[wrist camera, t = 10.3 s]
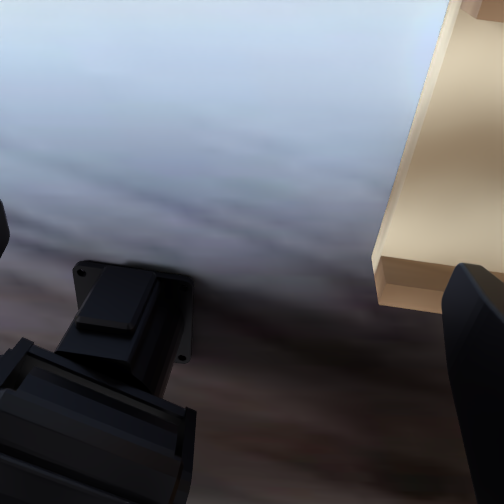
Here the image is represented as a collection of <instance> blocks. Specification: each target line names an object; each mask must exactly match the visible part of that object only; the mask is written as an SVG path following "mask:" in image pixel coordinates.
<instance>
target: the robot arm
mask: <svg viewBox="0 0 504 504" xmlns="http://www.w3.org/2000/svg"><path fill="white" fill-rule="evenodd" d="M9 237H10V232H9V227H8V223H7V219H6V214H5V210H4V206H3V203H2V201H1V199H0V258H1V256H2V254H3V252H4V250H5V248H6V246H7V244H8V242H9ZM81 269H82V270H84V271H85V272H83V271H82V270H81ZM73 278H74V284H75V291H76V297H77V303H78V310H79V311H78V312H77V314H76V316H75V318H74V320H73V321H72V323H71V325H70V326H69V328H68V330H67V331H66V333H65V335H64V336H63V338H62V340H61V341H60V343H59V345H58V347H57V348H56V350H55V352H54V353H53V352H51V351H48V350H46V349H44V348H41V347H39V346H37V345H34V342H33V341H30V340H28V339H25V338H23V337H22V338H21V340H20V341H19V342H18V343H17V344H16V346H15V347H14V348H13V349H8V350H7V351H6V353H5V354H4V355H0V504H186V501H187V497H188V494H189V489H190V485H191V479H192V469H193V455H194V441H195V427H196V414H197V411H195V410H193V409H190V408H188V407H186V408H183V407H181V406H178V405H176V404H173V403H171V402H169V401H166V400H164V399H162V398H163V395H164V392H165V389H166V386H167V383H168V379H169V376H170V373H171V370H172V367H173V363H174V362H175V363H182V364H185V363H188V362H189V361H190V359H191V355H192V333H193V304H194V282H193V280H192V279H191V278H189V277H187V276H182V275H175V274H168V273H161V272H154V271H147V270H141V269H134V268H127V267H120V266H113V265H106V264H99V263H93V262H86V261H80V262H77V264H76V265H75V266H74V268H73ZM181 284H184V285H186V286H187V287H184V286H182V285H181ZM441 309H442V319H443V329H444V339H445V350H446V360H447V368H448V375H449V380H450V385H451V390H452V394H453V398H454V403H455V407H456V412H457V416H458V420H459V425H460V429H461V434H462V438H463V442H464V447H465V451H466V456H467V460H468V465H469V469H470V473H471V478H472V482H473V487H474V491H475V495H476V500H477V504H504V282H502V281H501V280H500V279H498V278H497V277H496V276H495V275H493V274H492V273H491V272H489V271H488V270H487V269H485V268H484V267H483V266H481V265H478V264H470V263H463V262H462V263H459V264H457V265H456V267H455V268H454V270H453V273H452V275H451V277H450V279H449V282H448V284H447V286H446V289H445V291H444V293H443V296H442V301H441ZM183 355H184V356H183Z"/></svg>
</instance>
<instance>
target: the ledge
mask: <svg viewBox="0 0 504 504" xmlns="http://www.w3.org/2000/svg"><path fill="white" fill-rule="evenodd" d="M371 258H372V265H373V271H374V277H375V284H376V290H377V296H378V303H379V305H385V306H392V307H399V308H406V309H413V310H420V311H427V312H433V313H440V314H442V309H441V301H442V296H443V293H444V291H445V289H446V286H447V284H448V282H449V279H450V277H451V275H452V273H453V270H454V268H455V267H456V265H457V264H459V263H462V262H463V263H470V264H478V265H481V266H483V267H484V268H485V269H487V270H488V271H489V272H491V273H492V274H493V275H495V276H496V277H497V278H498V279H500V280H501V281H502V282H504V0H450V1H449V4H448V8H447V11H446V14H445V17H444V21H443V24H442V27H441V31H440V34H439V37H438V40H437V44H436V47H435V50H434V54H433V57H432V60H431V63H430V67H429V70H428V73H427V76H426V80H425V83H424V86H423V90H422V93H421V96H420V99H419V103H418V106H417V109H416V113H415V116H414V119H413V122H412V126H411V129H410V132H409V135H408V139H407V142H406V145H405V149H404V152H403V155H402V158H401V162H400V165H399V168H398V172H397V175H396V178H395V181H394V185H393V188H392V191H391V194H390V198H389V201H388V204H387V208H386V211H385V214H384V217H383V221H382V224H381V227H380V231H379V234H378V237H377V240H376V244H375V247H374V250H373V253H372V257H371Z"/></svg>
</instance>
